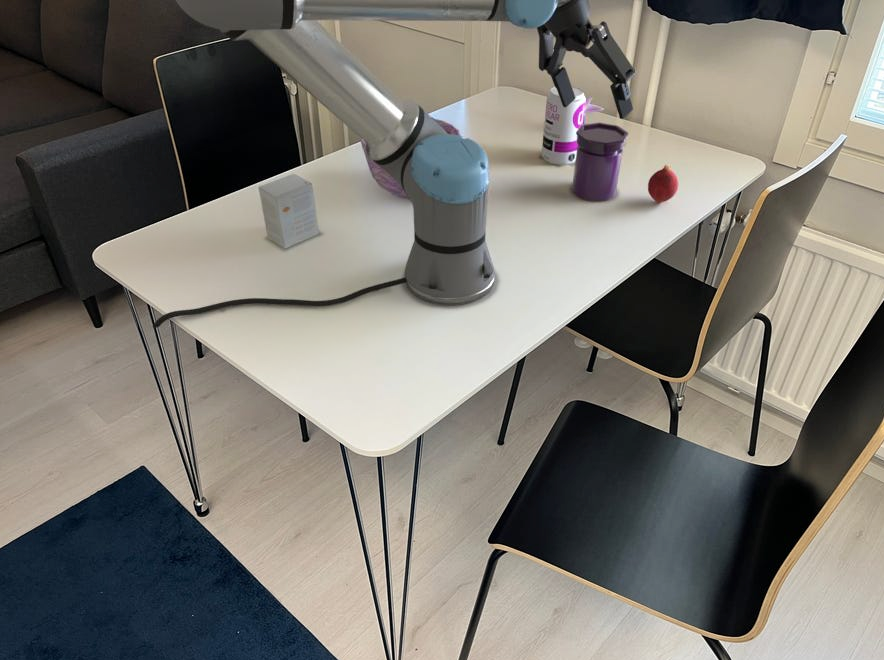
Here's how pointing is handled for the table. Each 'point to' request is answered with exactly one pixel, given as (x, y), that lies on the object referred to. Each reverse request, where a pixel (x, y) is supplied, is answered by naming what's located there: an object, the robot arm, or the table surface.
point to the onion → (663, 185)
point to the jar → (598, 161)
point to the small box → (289, 210)
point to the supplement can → (562, 127)
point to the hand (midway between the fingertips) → (597, 108)
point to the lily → (590, 108)
